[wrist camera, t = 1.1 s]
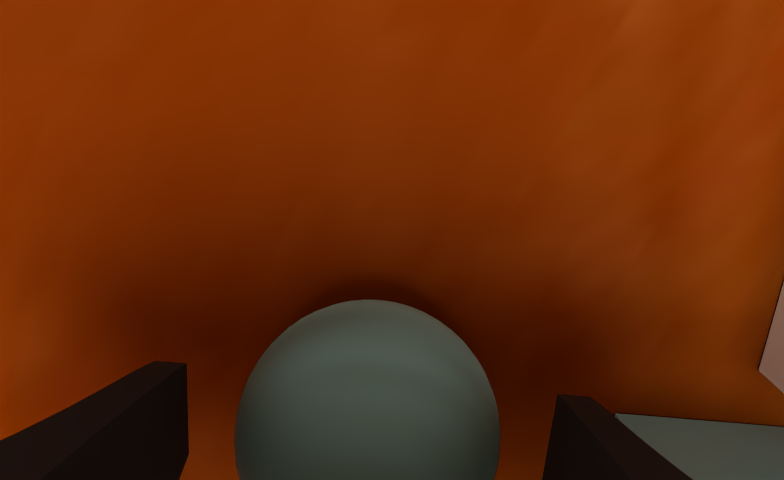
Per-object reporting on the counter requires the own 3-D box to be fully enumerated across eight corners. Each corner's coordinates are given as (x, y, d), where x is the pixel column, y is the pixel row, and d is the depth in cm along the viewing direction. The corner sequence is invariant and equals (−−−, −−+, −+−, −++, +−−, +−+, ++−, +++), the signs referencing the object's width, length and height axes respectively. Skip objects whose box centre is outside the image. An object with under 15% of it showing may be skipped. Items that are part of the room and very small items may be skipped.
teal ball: (470, 466, 15) (499, 661, 10) (265, 449, 15) (198, 636, 10) (496, 273, 13) (545, 396, 9) (269, 255, 13) (193, 367, 9)
